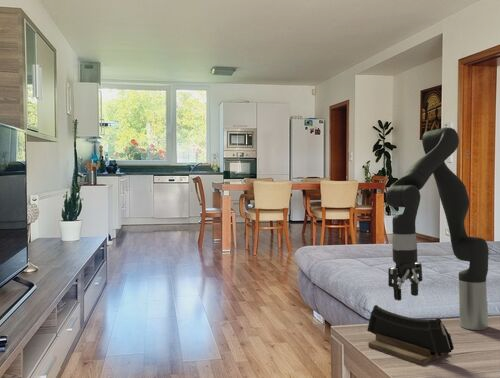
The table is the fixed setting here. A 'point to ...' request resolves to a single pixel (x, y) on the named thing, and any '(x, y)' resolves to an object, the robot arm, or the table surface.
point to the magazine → (411, 330)
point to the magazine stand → (404, 350)
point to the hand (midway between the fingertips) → (406, 297)
